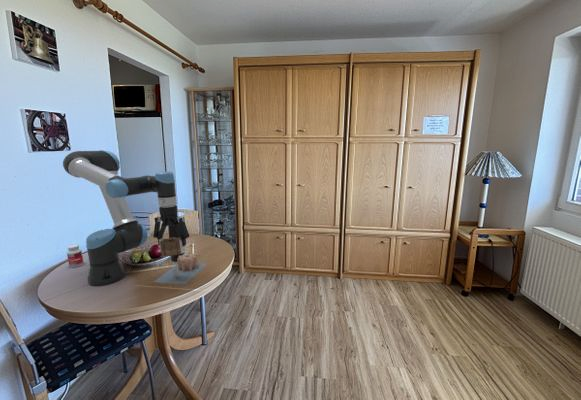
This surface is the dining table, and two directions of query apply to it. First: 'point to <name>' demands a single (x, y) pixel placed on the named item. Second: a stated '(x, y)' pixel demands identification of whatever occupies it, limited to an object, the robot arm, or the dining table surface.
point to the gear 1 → (170, 246)
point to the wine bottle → (174, 234)
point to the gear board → (179, 275)
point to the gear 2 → (187, 262)
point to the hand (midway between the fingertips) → (173, 252)
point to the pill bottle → (75, 256)
